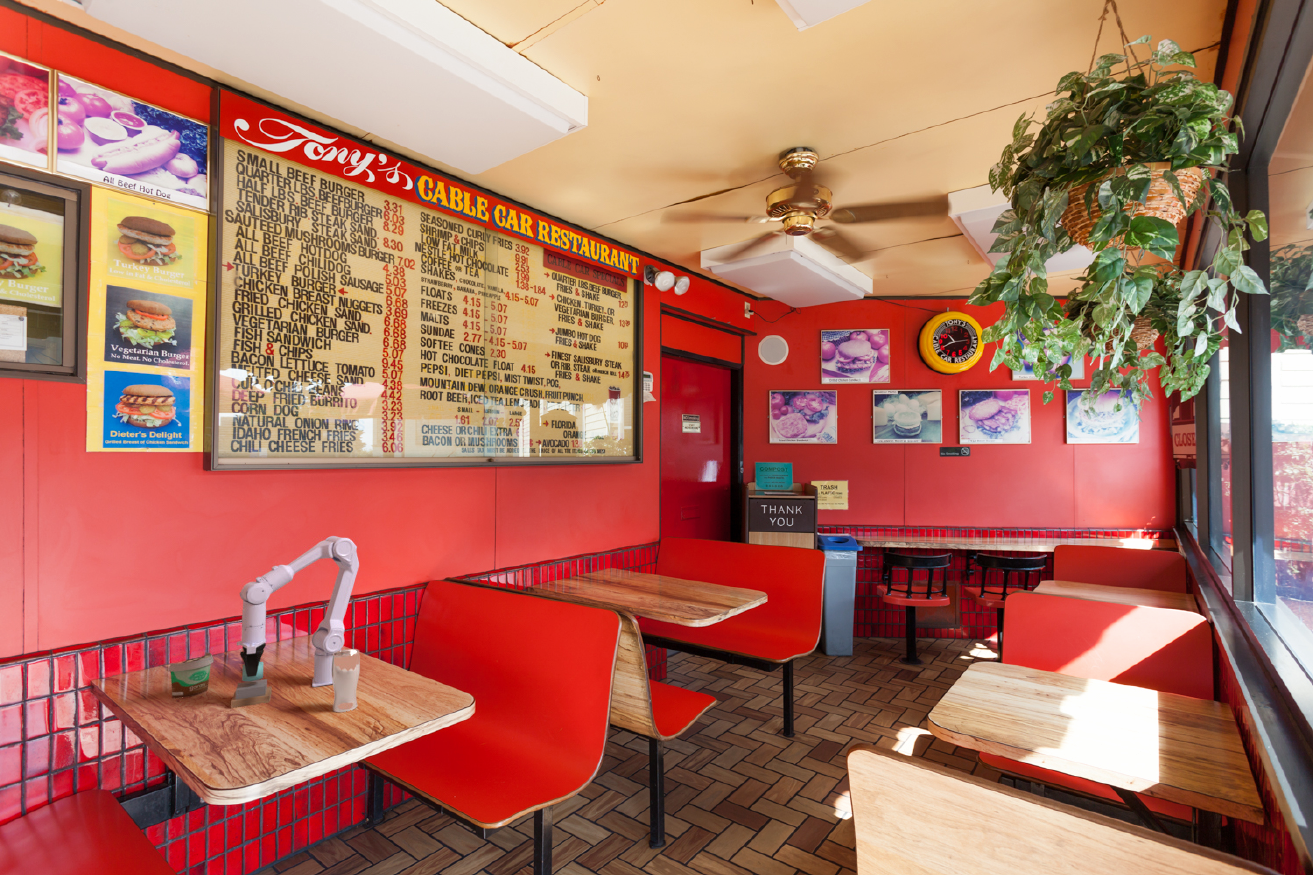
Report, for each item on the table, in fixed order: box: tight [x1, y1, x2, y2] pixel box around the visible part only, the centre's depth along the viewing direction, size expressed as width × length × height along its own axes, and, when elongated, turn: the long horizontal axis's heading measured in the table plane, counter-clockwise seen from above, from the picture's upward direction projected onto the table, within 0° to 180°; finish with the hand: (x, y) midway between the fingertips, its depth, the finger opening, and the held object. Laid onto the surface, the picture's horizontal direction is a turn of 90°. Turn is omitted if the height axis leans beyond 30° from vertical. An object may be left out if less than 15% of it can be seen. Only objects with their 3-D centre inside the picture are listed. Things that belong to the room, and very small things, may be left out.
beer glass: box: [332, 648, 361, 713], centre depth 172 cm, size 7×7×15 cm
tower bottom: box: [230, 685, 273, 709], centre depth 179 cm, size 9×9×2 cm
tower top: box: [235, 678, 268, 700], centre depth 179 cm, size 7×7×2 cm
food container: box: [168, 651, 215, 699], centre depth 185 cm, size 12×6×10 cm, turn 168°
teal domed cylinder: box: [241, 661, 264, 682], centre depth 179 cm, size 5×5×4 cm
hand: (252, 673), depth 179 cm, fingers closed on teal domed cylinder, 5 cm apart
